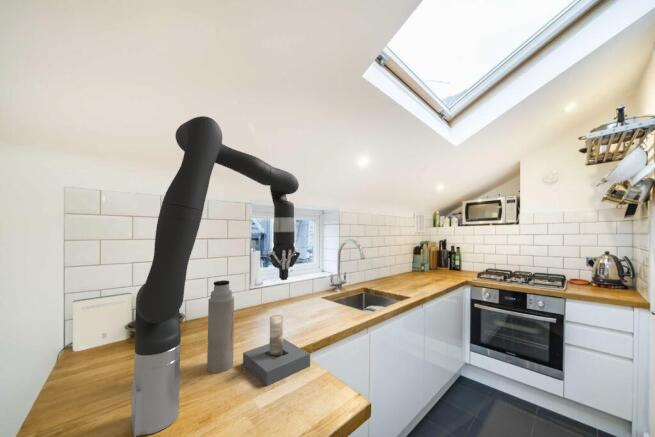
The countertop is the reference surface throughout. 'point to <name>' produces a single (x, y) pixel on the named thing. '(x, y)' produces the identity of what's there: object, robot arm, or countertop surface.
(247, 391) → the countertop surface
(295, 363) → the gray board
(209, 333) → the thermos bottle
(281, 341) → the ash peg
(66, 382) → the countertop surface
